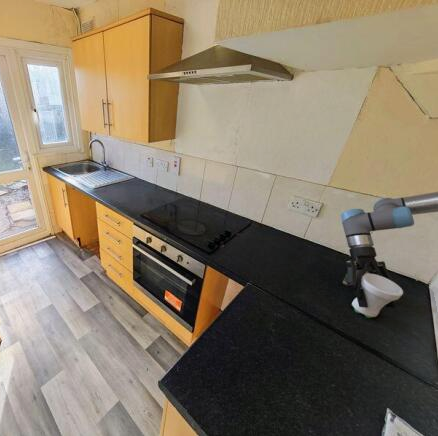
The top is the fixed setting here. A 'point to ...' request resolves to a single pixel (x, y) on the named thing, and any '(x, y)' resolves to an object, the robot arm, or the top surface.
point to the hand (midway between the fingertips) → (377, 307)
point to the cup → (376, 294)
